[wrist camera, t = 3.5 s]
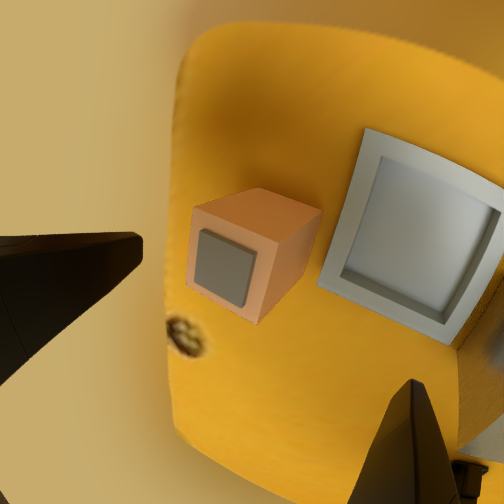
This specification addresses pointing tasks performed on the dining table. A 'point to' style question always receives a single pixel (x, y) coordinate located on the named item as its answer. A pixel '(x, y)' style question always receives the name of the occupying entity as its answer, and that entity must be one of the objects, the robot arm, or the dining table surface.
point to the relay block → (250, 249)
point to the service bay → (415, 237)
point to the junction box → (483, 385)
